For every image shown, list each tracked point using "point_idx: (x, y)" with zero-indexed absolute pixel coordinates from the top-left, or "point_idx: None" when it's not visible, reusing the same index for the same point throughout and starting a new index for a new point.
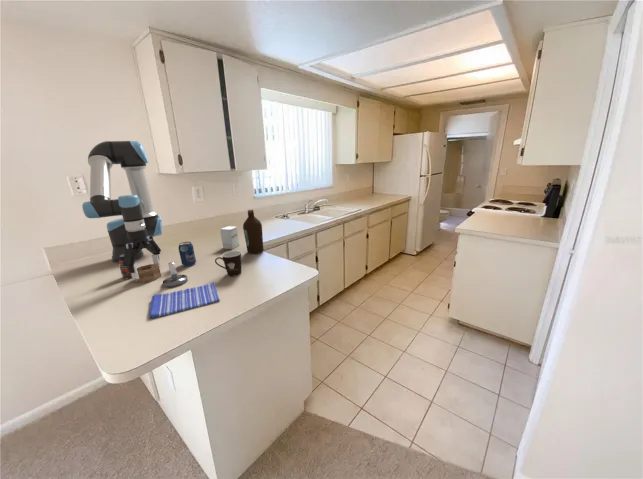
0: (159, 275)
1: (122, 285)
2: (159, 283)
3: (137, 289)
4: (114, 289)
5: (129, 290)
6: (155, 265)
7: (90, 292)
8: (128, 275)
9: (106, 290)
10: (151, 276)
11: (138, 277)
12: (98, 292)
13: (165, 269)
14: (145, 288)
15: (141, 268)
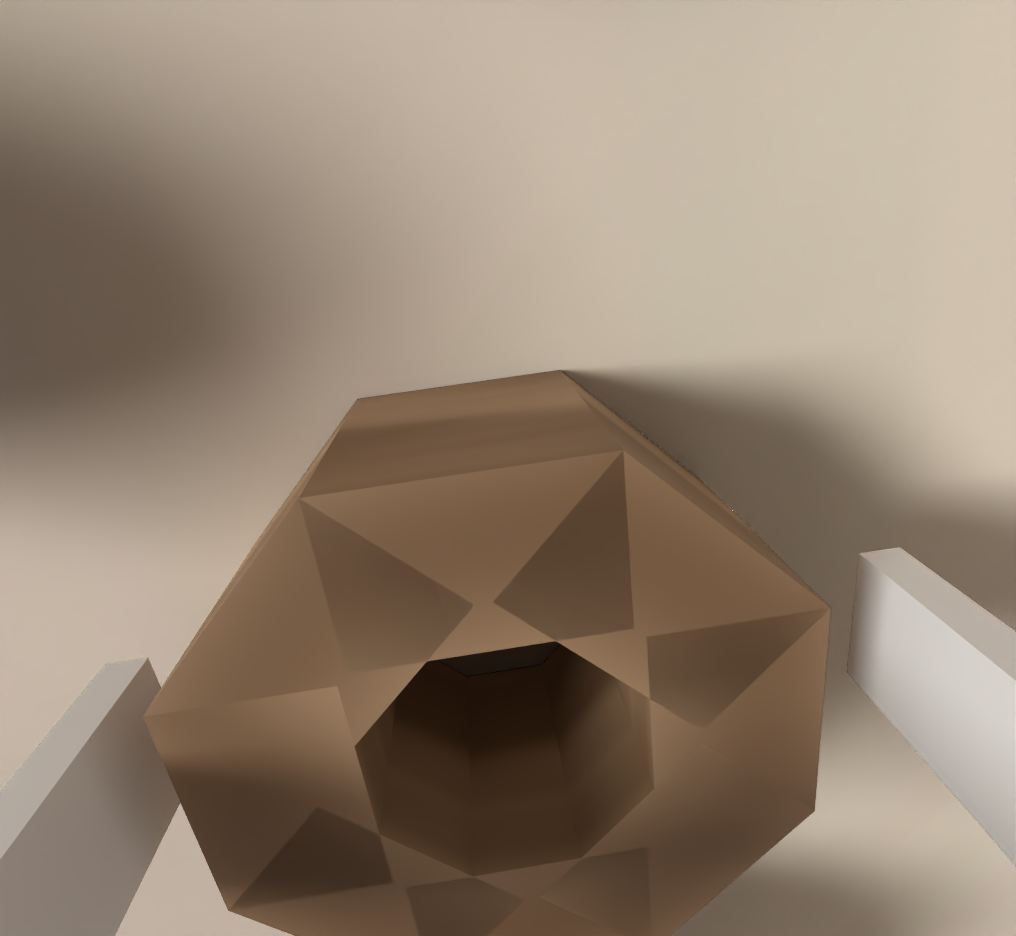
0: (402, 404)
1: None
2: (714, 79)
3: (987, 360)
4: None
5: (1009, 479)
6: (250, 707)
7: (998, 923)
8: None
9: (963, 809)
10: (627, 430)
11: (896, 568)
12: None
13: (32, 621)
14: (959, 218)
15: (539, 872)
